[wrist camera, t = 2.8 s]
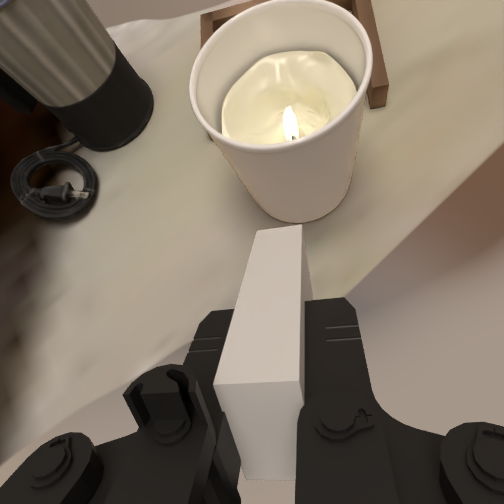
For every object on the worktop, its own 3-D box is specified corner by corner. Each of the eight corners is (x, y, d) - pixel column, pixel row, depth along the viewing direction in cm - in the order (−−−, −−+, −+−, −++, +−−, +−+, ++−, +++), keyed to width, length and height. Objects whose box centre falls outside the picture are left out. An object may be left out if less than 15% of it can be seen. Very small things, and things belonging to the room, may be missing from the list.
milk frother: (149, 64, 38) (41, -106, 24) (172, 189, 33) (49, 61, 19) (35, 111, 40) (-124, -20, 26) (39, 237, 35) (-160, 152, 21)
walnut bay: (211, 140, 33) (201, 123, 31) (209, 36, 37) (200, 14, 35) (385, 106, 30) (388, 84, 28) (362, -4, 34) (363, -31, 32)
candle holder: (298, 257, 28) (269, 186, 17) (221, 183, 32) (155, 84, 20) (388, 172, 28) (417, 46, 17) (301, 108, 32) (279, -29, 21)
